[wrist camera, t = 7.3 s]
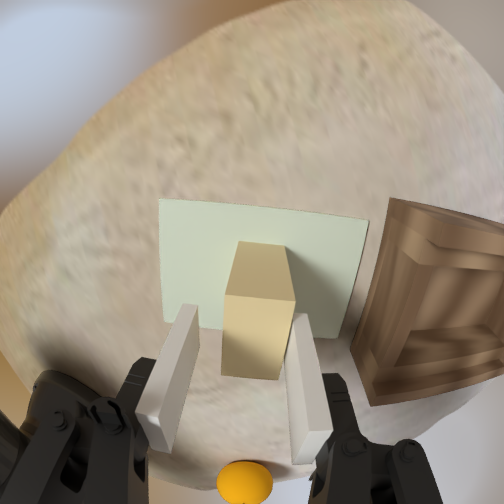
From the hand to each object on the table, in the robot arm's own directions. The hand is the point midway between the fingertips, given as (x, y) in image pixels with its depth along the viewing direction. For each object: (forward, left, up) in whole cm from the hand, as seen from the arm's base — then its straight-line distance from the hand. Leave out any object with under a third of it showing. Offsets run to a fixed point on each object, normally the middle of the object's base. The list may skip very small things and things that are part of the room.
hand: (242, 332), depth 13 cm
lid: (+1, 0, -7) cm, 7 cm away
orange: (+2, -32, -7) cm, 33 cm away
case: (+18, 0, -6) cm, 19 cm away
